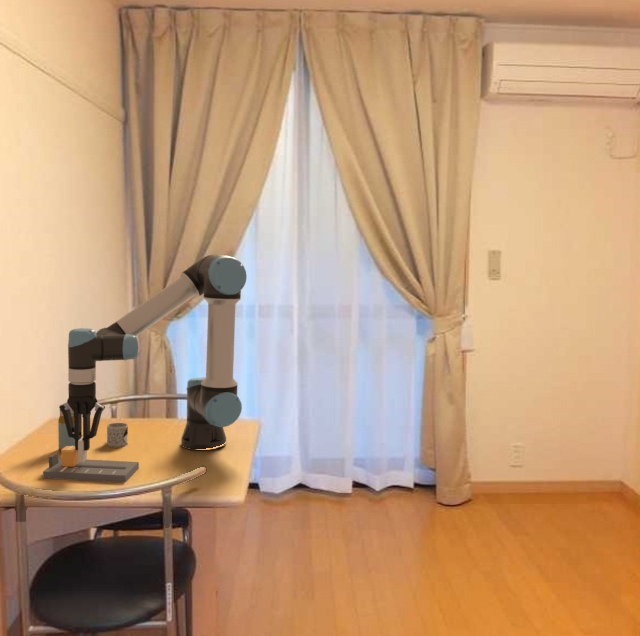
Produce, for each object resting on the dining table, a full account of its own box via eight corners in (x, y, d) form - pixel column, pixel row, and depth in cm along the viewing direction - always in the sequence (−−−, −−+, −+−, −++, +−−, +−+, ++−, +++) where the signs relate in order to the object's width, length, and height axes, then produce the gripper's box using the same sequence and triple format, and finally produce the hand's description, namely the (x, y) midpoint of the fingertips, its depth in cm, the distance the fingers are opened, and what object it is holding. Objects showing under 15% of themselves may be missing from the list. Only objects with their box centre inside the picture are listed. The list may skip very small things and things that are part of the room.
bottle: (74, 454, 216) (73, 408, 214) (54, 452, 217) (53, 406, 216) (85, 448, 223) (85, 403, 221) (66, 446, 224) (66, 401, 223)
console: (138, 468, 205) (138, 452, 205) (125, 482, 193) (125, 465, 193) (60, 464, 206) (60, 448, 206) (43, 478, 194) (42, 461, 194)
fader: (79, 462, 201) (79, 446, 201) (74, 466, 198) (73, 449, 197) (66, 462, 202) (66, 445, 201) (61, 466, 198) (61, 449, 197)
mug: (128, 446, 226) (128, 427, 225) (107, 448, 224) (107, 428, 223) (126, 438, 235) (126, 419, 235) (106, 439, 233) (106, 420, 232)
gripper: (108, 380, 200) (108, 457, 203) (65, 378, 201) (66, 455, 203) (99, 385, 193) (99, 465, 195) (54, 383, 193) (55, 463, 196)
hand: (82, 460), depth 199 cm, fingers closed
